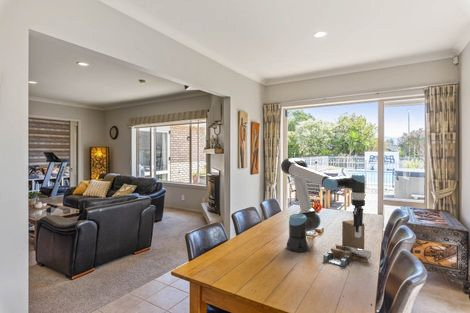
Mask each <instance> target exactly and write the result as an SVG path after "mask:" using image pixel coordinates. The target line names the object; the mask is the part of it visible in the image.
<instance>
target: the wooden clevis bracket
mask: <svg viewBox="0 0 470 313" xmlns="http://www.w3.org/2000/svg"><path fill="white" fill-rule="evenodd" d="M345 247H346V246H342V244H335V248H334V247H331V248H330V251H331V252H333V257H335V258H339V259H342V258H344V256H345V255H348V256H350V262H351V261H352V260H353V261H357V262H361V263H364V264H368V263H369V259H365V258H361V257H357V256H353V255H351V252H348V251H345Z"/></svg>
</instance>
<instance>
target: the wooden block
mask: <svg viewBox="0 0 470 313" xmlns="http://www.w3.org/2000/svg"><path fill="white" fill-rule="evenodd" d="M362 225H363V226H361V237H360V238H358V237H355V227H354V219H353V220H342V225H341V226H342V228H341V229H342V233H341V234H342V235H341V237H342V238H341V239H342V240H341V241H342V244H341V245H342V246H350V247H355V248H359V249H363V250H365V223H364V222H363V224H362Z"/></svg>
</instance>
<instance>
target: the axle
mask: <svg viewBox="0 0 470 313" xmlns="http://www.w3.org/2000/svg"><path fill="white" fill-rule="evenodd" d="M345 251H348V252H351V255H353V256H357V257H361V258H365V259H368V260H371V257H372V251H371V250H367V249H364V250H363V249H359V248H355V247H350V246H346V247H345Z"/></svg>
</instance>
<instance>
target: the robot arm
mask: <svg viewBox="0 0 470 313" xmlns="http://www.w3.org/2000/svg"><path fill="white" fill-rule="evenodd" d="M280 169H281V171H282V173H284V174H287V175H289V176H290V178H292V179H293V181H294V182H293V183H294V187H295V191H296V196H297V201H298V205H299V209H300V211H299V212H298V213H294V214H293V213H292V214H290V216H289V219H288V239H287V242H286V249H287V250H288V251H290V252H293V253H294V252H295V253H305V252H308V251H309V248H310V246H309V242H308V240H307V232H309V231H314V230H316V229H318V228H319V226H321V222H322V221H321V217H320V215H318V213H316V210H315V209H314V208H313V206H312V201H311V197H310V192H309V187H308V184H307V181H309V182H311V183H313V184H316V185H319V186H321V187H323V188H324V189H325V190H326V191H327V190H328V191H334V190H340V189H350V190H351V205H352V206H354V208H353V211H352V214H353V220H354V227H355V237H358V238H360V237H361V226H363V225H362V224H363V223H364V222H363V220H364V219H363V218H364V217H363V216H364V208H363V207H365V205H366V201H365V200H366V177H365V175H364V174H361V173H358V174H355V173H353V174H351V176H341V175H339V176H338V175H336V176H334V177H333V176H330V175H327V174H325V173H321V172H318V171H316V170H313V169H310V168H308V163H307V162H306V161H305V159H303V158H299V157H292V158H291V157H290V158H288V157H287V158H284V159H283V161H282V162H281V164H280Z"/></svg>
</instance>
